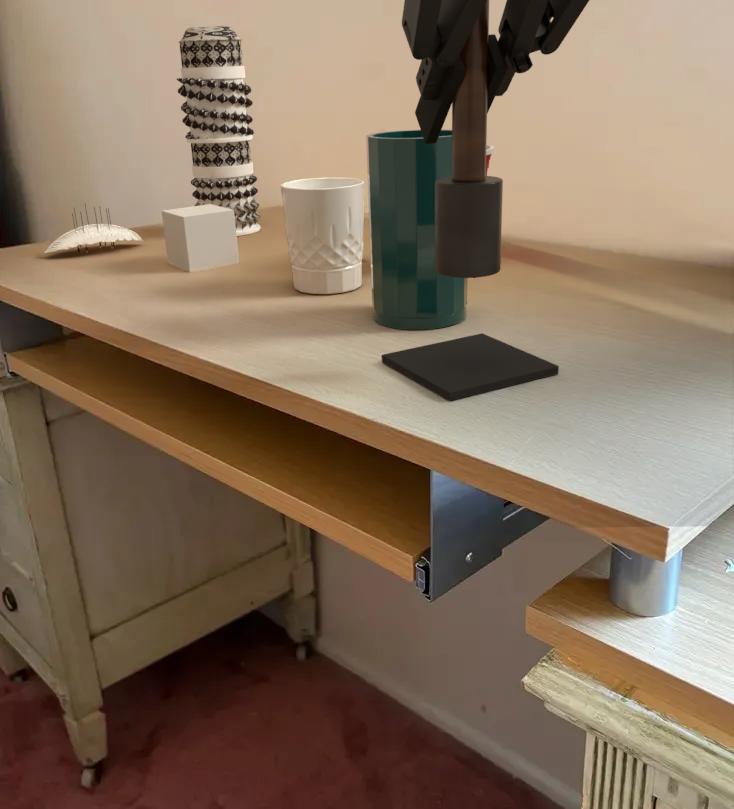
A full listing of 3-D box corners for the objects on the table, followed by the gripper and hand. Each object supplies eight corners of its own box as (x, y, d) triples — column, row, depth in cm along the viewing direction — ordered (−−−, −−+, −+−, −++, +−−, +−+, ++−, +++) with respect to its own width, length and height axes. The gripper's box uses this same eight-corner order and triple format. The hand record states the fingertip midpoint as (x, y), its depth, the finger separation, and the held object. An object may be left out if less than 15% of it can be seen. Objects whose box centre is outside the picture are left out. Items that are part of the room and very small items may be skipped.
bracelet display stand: (179, 234, 111) (154, 29, 101) (228, 222, 118) (209, 29, 108) (228, 240, 106) (207, 24, 96) (276, 227, 113) (261, 25, 103)
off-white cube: (190, 273, 90) (183, 217, 88) (168, 263, 95) (161, 210, 92) (239, 263, 93) (234, 209, 91) (216, 255, 98) (210, 203, 95)
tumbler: (433, 298, 76) (432, 127, 71) (485, 319, 70) (488, 132, 64) (357, 313, 73) (349, 134, 67) (403, 335, 66) (399, 140, 61)
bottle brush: (475, 260, 59) (480, -83, 51) (513, 271, 55) (526, -96, 47) (422, 268, 57) (420, -86, 49) (458, 281, 54) (462, -100, 45)
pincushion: (51, 262, 97) (42, 213, 95) (40, 254, 102) (31, 207, 100) (150, 248, 103) (144, 201, 101) (135, 240, 108) (129, 196, 105)
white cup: (276, 283, 84) (268, 182, 80) (346, 272, 87) (341, 175, 83) (307, 301, 77) (300, 191, 73) (382, 288, 80) (378, 183, 77)
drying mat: (482, 340, 65) (482, 333, 64) (558, 374, 57) (559, 365, 57) (381, 362, 61) (381, 354, 61) (449, 401, 53) (449, 392, 53)
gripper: (461, -217, 32) (351, 179, 53) (782, -196, 36) (562, 163, 57) (409, -332, 34) (324, 89, 56) (714, -300, 39) (527, 79, 60)
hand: (445, 126), depth 56 cm, fingers closed on bottle brush, 2 cm apart
